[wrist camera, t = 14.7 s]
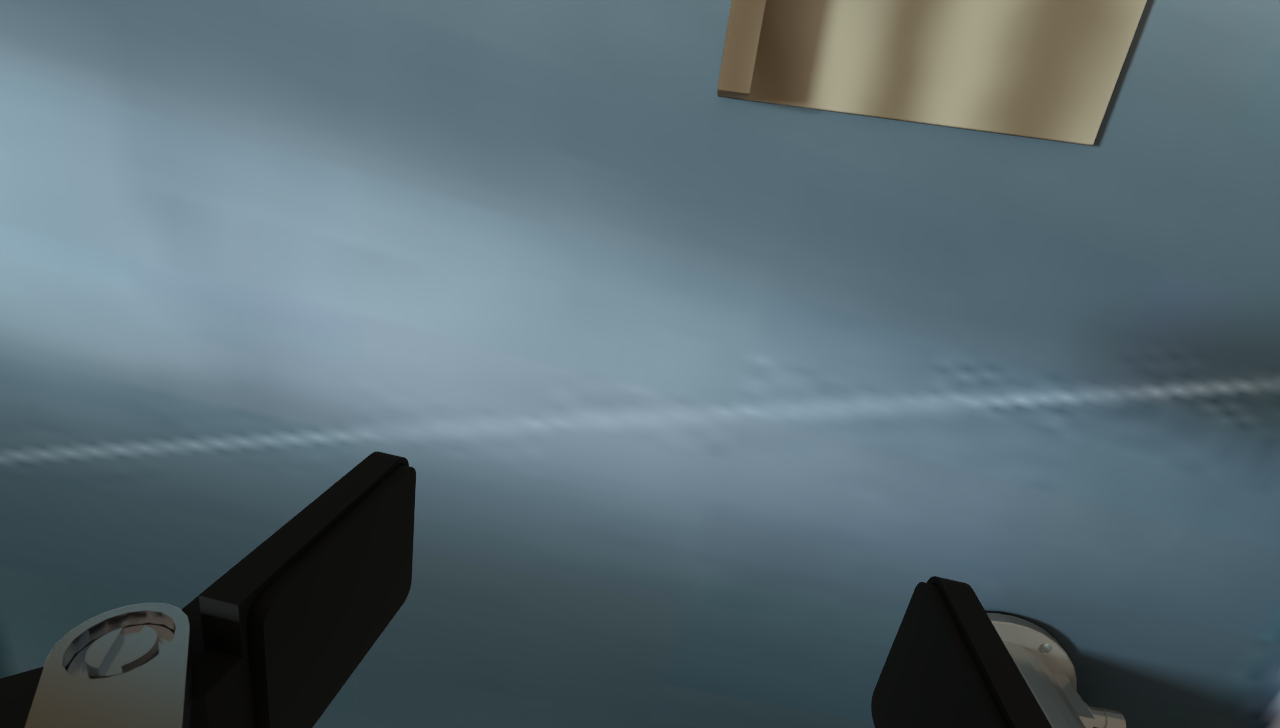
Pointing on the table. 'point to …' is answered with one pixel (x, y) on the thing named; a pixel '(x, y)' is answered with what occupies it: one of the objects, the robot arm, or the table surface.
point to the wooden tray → (936, 60)
